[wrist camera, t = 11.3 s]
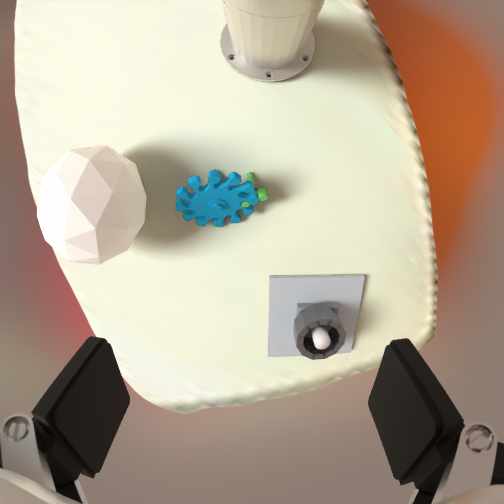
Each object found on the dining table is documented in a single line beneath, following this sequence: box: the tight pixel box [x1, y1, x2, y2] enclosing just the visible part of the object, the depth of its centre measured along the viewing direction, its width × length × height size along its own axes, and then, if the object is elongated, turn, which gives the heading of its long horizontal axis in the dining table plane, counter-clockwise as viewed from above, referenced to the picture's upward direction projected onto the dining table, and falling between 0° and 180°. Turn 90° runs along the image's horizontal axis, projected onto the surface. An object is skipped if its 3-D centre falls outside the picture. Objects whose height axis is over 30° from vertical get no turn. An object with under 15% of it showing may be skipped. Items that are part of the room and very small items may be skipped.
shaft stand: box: [268, 274, 365, 357], centre depth 39 cm, size 14×14×7 cm
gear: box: [176, 170, 268, 227], centre depth 34 cm, size 11×6×10 cm
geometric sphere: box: [37, 146, 147, 264], centre depth 30 cm, size 14×15×15 cm
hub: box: [293, 304, 346, 360], centre depth 38 cm, size 7×7×4 cm
